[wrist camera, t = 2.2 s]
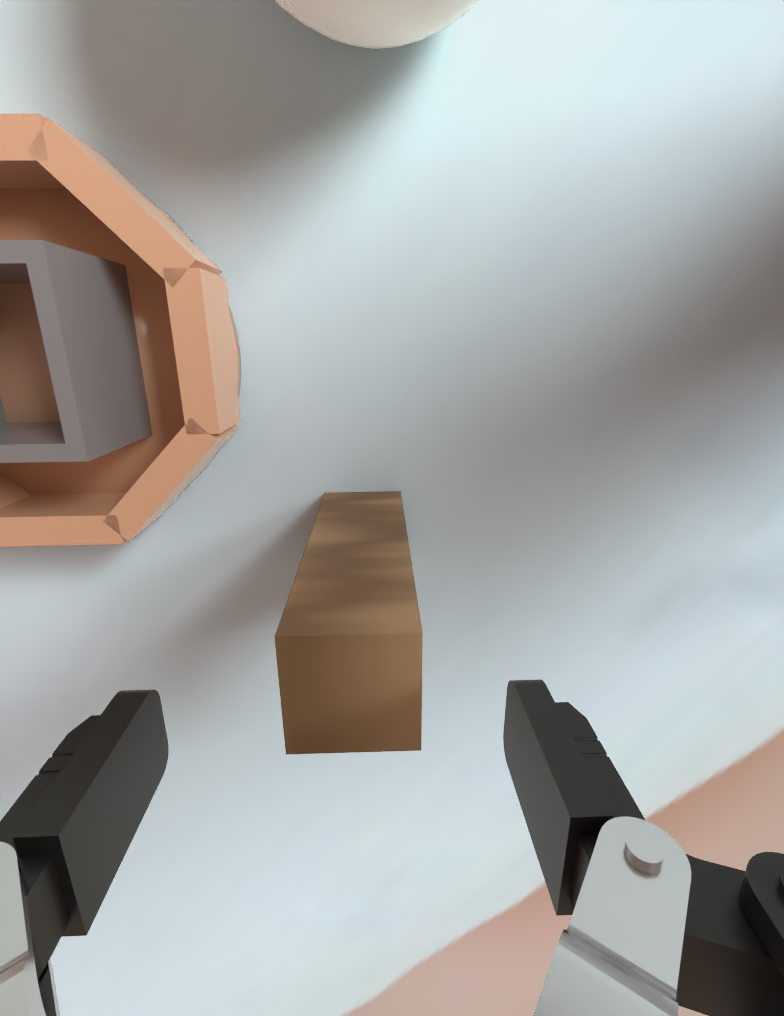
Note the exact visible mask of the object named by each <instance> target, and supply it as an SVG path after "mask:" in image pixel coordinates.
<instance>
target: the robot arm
mask: <svg viewBox="0 0 784 1016" xmlns="http://www.w3.org/2000/svg"><path fill="white" fill-rule="evenodd" d="M503 739H504V751H505V757H506V761H507V765H508V768H509V771H510V774H511V777H512V780H513V783H514V786H515V790H516V793H517V796H518V799H519V802H520V805H521V808H522V811H523V814H524V817H525V820H526V823H527V826H528V829H529V832H530V836H531V839H532V842H533V845H534V848H535V851H536V854H537V857H538V860H539V863H540V866H541V869H542V872H543V875H544V878H545V882H546V885H547V888H548V891H549V893H550V897H551V899H552V903H553V906H554V909H555V912H556V915H572V918H571V921H570V924H569V926H568V929H567V931H566V930H563V932H562V934H561V936H560V939H559V942H558V945H557V947H556V950H555V953H554V956H553V959H552V962H551V965H550V968H549V971H548V974H547V977H546V980H545V983H544V986H543V989H542V992H541V994H540V997H539V1001H538V1003H537V1007H536V1009H535V1012H534V1016H678V1005H679V1006H682V1007H685V1008H688V1009H691V1010H694V1011H697V1012H700V1013H702V1014H705V1015H709V1016H784V854H781V853H774V852H763V853H759V854H756V855H755V856H753V857H752V858H751V859H750V860H749V862H748V865H747V868H746V871H742V870H738V869H734V868H731V867H727V866H723V865H719V864H715V863H711V862H707V861H704V860H700V859H697V858H694V857H692V856H689V855H687V854H685V853H684V851H683V850H682V848H681V847H680V846H679V844H678V843H677V842H676V841H675V840H674V839H673V838H672V837H671V836H670V835H669V834H667V833H666V832H665V831H664V830H662V829H661V828H659V827H658V826H656V825H654V824H652V823H650V822H648V821H646V820H645V819H644V817H643V815H642V814H641V812H640V810H639V808H638V807H637V805H636V803H635V802H634V800H633V798H632V796H631V795H630V793H629V791H628V789H627V788H626V786H625V784H624V782H623V781H622V779H621V777H620V776H619V774H618V772H617V770H616V769H615V767H614V765H613V763H612V762H611V760H610V758H609V757H607V755H606V751H605V750H604V748H603V746H602V744H601V743H600V741H598V740H597V736H596V734H595V732H594V730H593V729H592V727H591V725H590V724H589V722H588V720H587V718H586V717H584V716H583V715H582V714H581V713H580V712H579V711H578V710H576V709H575V708H574V707H573V706H572V705H571V704H569V703H568V702H559V703H555V702H554V700H553V698H552V696H551V694H550V692H549V690H548V688H547V686H546V684H545V683H544V681H543V680H513V681H509V683H508V687H507V698H506V710H505V722H504V735H503ZM167 759H168V740H167V735H166V729H165V723H164V718H163V712H162V706H161V701H160V696H159V693H158V692H157V691H156V690H130V691H120V692H118V693H117V694H116V695H115V696H114V698H113V699H112V700H111V702H110V703H109V705H108V706H107V707H106V709H105V710H104V711H103V713H102V714H101V715H97V716H90V717H89V718H88V719H87V720H85V721H84V722H83V723H81V724H80V725H79V726H77V727H76V728H75V729H73V730H72V731H71V732H70V733H68V735H67V736H66V737H65V738H64V740H63V741H62V742H61V744H60V745H59V746H58V747H57V749H56V750H55V751H54V753H53V756H52V758H49V759H48V760H47V762H46V763H45V764H44V766H43V767H42V768H41V769H40V771H39V775H36V776H35V777H34V779H33V780H32V781H31V782H30V784H29V785H28V786H27V788H26V789H25V790H24V791H23V793H22V794H21V795H20V797H19V798H18V799H17V801H16V802H15V803H14V804H13V806H12V807H11V808H10V810H9V811H8V812H7V813H6V815H5V816H4V817H3V819H2V820H1V821H0V1016H60V1012H59V1006H58V1000H57V993H56V987H55V981H54V974H53V968H52V964H51V961H50V957H51V955H52V953H53V951H54V949H55V948H56V946H57V944H58V942H59V940H60V938H61V936H83V935H87V933H88V931H89V929H90V927H91V925H92V923H93V921H94V918H95V916H96V914H97V912H98V910H99V908H100V906H101V904H102V902H103V900H104V898H105V895H106V893H107V891H108V889H109V887H110V885H111V883H112V881H113V879H114V877H115V875H116V872H117V870H118V868H119V866H120V864H121V862H122V860H123V858H124V856H125V854H126V852H127V850H128V847H129V845H130V843H131V841H132V839H133V837H134V835H135V833H136V831H137V829H138V827H139V824H140V822H141V820H142V818H143V816H144V814H145V812H146V810H147V808H148V806H149V804H150V801H151V799H152V797H153V795H154V793H155V791H156V789H157V787H158V785H159V783H160V781H161V778H162V776H163V774H164V771H165V768H166V764H167Z"/></svg>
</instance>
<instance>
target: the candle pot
mask: <svg viewBox="0 0 784 1016" xmlns="http://www.w3.org/2000/svg"><path fill="white" fill-rule="evenodd" d="M221 272H222V271H221V270H220V269H219V268H218V267H217V266H216V265H215V264H214V263H213V262H212V261H211V260H210V259H209V258H208V257H207V256H206V255H205V254H204V253H203V252H202V251H201V250H200V249H199V248H198V247H197V246H196V245H195V244H194V243H193V241H192V240H191V239H190V238H189V237H188V236H187V234H186V233H185V232H184V231H183V230H182V229H181V228H180V227H179V226H178V225H177V224H176V222H175V221H174V220H173V219H171V218H170V217H169V216H168V215H167V214H166V213H164V212H163V211H162V210H161V209H160V208H159V207H157V206H156V205H155V204H154V203H153V202H151V201H150V200H148V199H147V198H146V197H145V196H144V195H143V194H142V193H141V192H140V191H139V190H138V189H137V188H136V187H135V186H134V185H133V184H131V183H130V182H129V181H128V180H127V179H126V178H125V177H124V176H123V175H122V174H121V173H120V172H119V171H118V170H117V169H116V168H115V167H114V166H113V165H112V164H111V163H110V162H109V161H108V160H107V159H106V158H105V157H104V156H103V155H102V154H101V153H99V152H98V151H96V150H95V149H93V148H92V147H90V146H89V145H87V144H86V143H84V142H83V141H81V140H80V139H78V138H77V137H76V136H74V135H73V134H71V133H70V132H68V131H67V130H65V129H64V128H62V127H61V126H59V125H58V124H56V123H55V122H53V121H52V120H51V119H49V118H48V119H46V118H44V117H43V116H41V115H40V114H0V547H15V546H64V545H113V544H123V543H125V542H126V541H128V542H129V541H130V540H131V539H132V538H134V537H135V536H136V535H137V534H139V533H140V532H141V531H142V530H144V529H145V528H146V527H147V526H149V525H150V524H151V523H152V522H154V521H155V520H156V519H157V518H159V517H160V516H161V515H162V514H163V513H164V511H165V510H166V509H167V508H168V507H169V506H170V505H171V504H172V502H173V501H174V500H175V499H176V498H177V497H178V496H179V494H180V493H181V492H182V491H183V490H184V489H185V488H186V487H187V485H188V484H189V483H190V482H191V481H193V480H194V479H195V478H196V477H197V476H198V475H199V474H200V473H201V472H202V471H203V470H204V469H205V468H206V467H207V466H208V464H209V463H210V462H211V460H212V459H213V458H214V456H215V455H216V454H217V453H218V451H219V449H220V448H221V447H222V446H223V445H224V444H225V443H226V441H227V440H228V439H229V438H230V437H231V436H232V435H233V434H234V432H235V431H236V430H237V429H238V428H239V427H238V426H237V425H236V424H237V423H239V422H241V419H240V409H239V400H238V398H239V390H240V379H241V365H240V349H239V343H238V337H237V331H236V327H235V324H234V320H233V317H232V313H231V310H230V306H229V304H228V295H227V285H226V279H225V278H223V277H221V276H219V275H220V274H221Z"/></svg>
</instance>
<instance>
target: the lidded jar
mask: <svg viewBox="0 0 784 1016" xmlns="http://www.w3.org/2000/svg"><path fill="white" fill-rule="evenodd" d="M275 1H276V2H277V3H278V4H279V5H280V6H281V7H282V8H283V9H284V10H285V11H287V12H288V13H289V14H291V15H292V16H293V17H295V18H296V19H297V20H299V21H300V22H301V23H303V24H304V25H306V26H307V27H309V28H311V29H313V30H315V31H317V32H319V33H321V34H322V35H324V36H326V37H328V38H330V39H332V40H335V41H339V42H342V43H345V44H348V45H351V46H356V47H365V48H373V49H379V48H392V47H400V46H403V45H407V44H411V43H414V42H418V41H420V40H422V39H425V38H427V37H429V36H431V35H433V34H435V33H437V32H439V31H441V30H443V29H445V28H446V27H448V26H449V25H451V24H452V23H453V22H455V21H456V20H457V19H459V18H460V17H462V16H463V15H464V14H466V13H467V12H468V11H469V10H470V9H471V8H472V7H473V6H474V5H475V4H476V3H477V2H478V1H479V0H275Z"/></svg>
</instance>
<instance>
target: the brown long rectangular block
mask: <svg viewBox="0 0 784 1016" xmlns="http://www.w3.org/2000/svg"><path fill="white" fill-rule="evenodd" d="M275 645H276V655H277V665H278V676H279V686H280V696H281V707H282V717H283V728H284V738H285V748H286V754H313V753H346V752H380V751H413V750H421V710H422V628H421V622H420V615H419V609H418V602H417V596H416V589H415V583H414V576H413V570H412V563H411V557H410V550H409V544H408V537H407V531H406V524H405V518H404V511H403V505H402V498H401V492H400V491H397V492H342V493H325V494H324V497H323V500H322V503H321V506H320V509H319V511H318V514H317V517H316V520H315V523H314V526H313V529H312V531H311V534H310V537H309V540H308V543H307V546H306V549H305V551H304V554H303V557H302V560H301V563H300V566H299V569H298V571H297V574H296V577H295V580H294V583H293V586H292V589H291V592H290V594H289V597H288V600H287V603H286V606H285V609H284V612H283V614H282V617H281V620H280V623H279V626H278V629H277V632H276V634H275Z"/></svg>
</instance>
